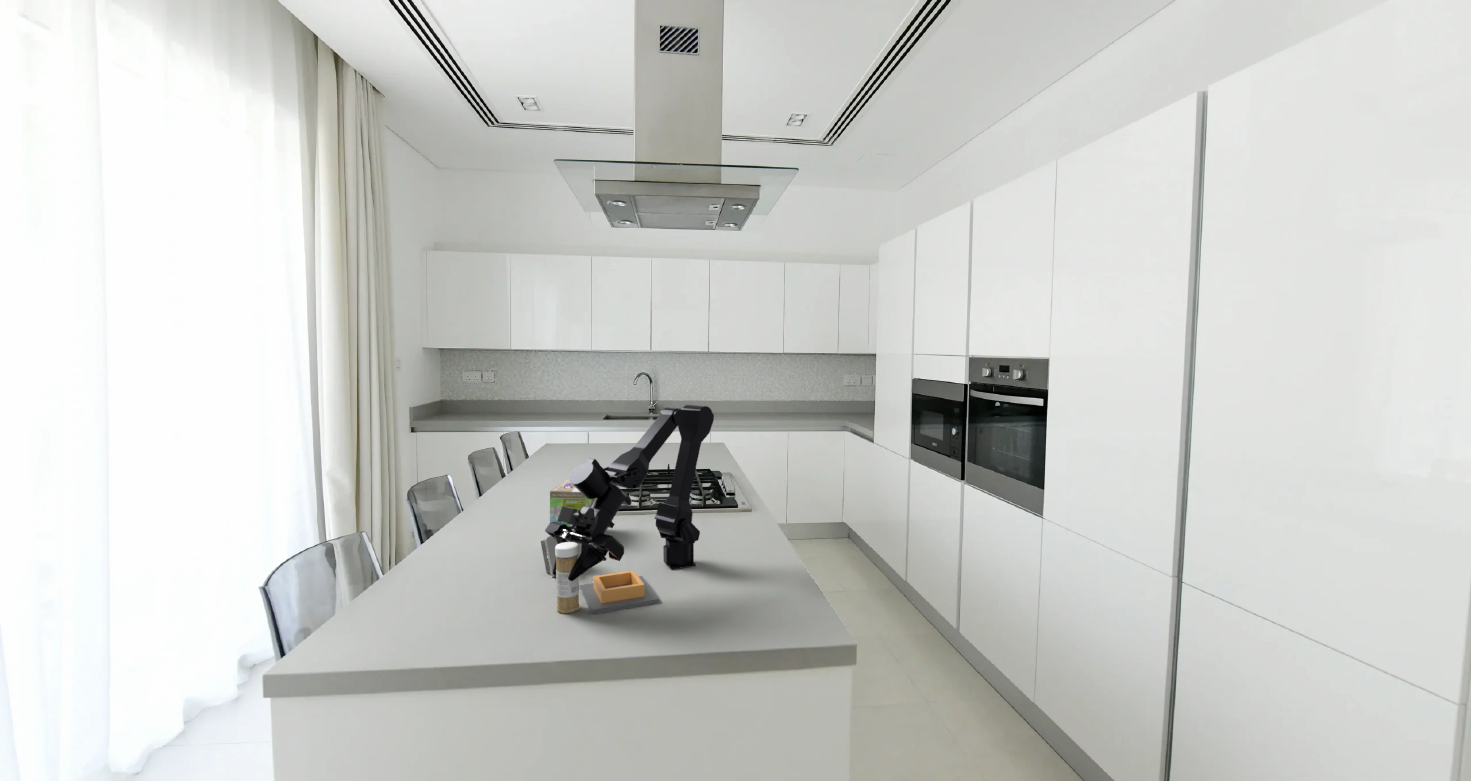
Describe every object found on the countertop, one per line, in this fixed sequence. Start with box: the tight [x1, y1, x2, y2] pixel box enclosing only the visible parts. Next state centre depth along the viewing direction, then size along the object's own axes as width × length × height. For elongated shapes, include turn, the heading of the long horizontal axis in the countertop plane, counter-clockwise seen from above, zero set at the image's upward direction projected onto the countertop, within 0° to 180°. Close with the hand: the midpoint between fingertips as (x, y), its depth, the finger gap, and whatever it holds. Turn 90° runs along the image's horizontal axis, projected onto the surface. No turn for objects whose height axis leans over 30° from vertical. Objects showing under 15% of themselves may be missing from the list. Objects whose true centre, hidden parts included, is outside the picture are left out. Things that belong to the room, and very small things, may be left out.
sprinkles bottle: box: [555, 542, 580, 614], centre depth 127 cm, size 5×5×14 cm
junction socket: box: [579, 570, 660, 615], centre depth 134 cm, size 14×14×3 cm
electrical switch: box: [540, 529, 582, 578], centre depth 149 cm, size 9×5×9 cm, turn 141°
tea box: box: [549, 479, 594, 539], centre depth 174 cm, size 15×10×15 cm
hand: (561, 577), depth 126 cm, fingers closed on sprinkles bottle, 4 cm apart
